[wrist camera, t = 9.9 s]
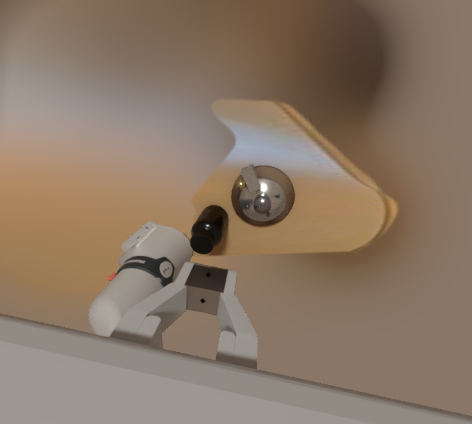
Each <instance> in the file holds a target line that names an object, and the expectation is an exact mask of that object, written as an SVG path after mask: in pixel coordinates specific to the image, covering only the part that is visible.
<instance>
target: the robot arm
mask: <svg viewBox="0 0 472 424" xmlns="http://www.w3.org/2000/svg"><path fill="white" fill-rule="evenodd" d="M121 249H122V251H123V254H122V255H121V256H120V257H119V259H118V262H119V265H120V268H119V270H118V272H117V274H116V273H113V274H112V275H110V276H109V277H108V279H107V280H109V281H110V283H109V284H108V285H107V286H106V287H105V288H104V289H103V290H102V292H101V293H100V294H99V295H98V296H97V297H96V298H95V299H94V300H93V302H92V304H91V306H90V308H89V312H88V313H89V314H88V318H89V323H90V326H91V328H92V330H93V332H94V333H95V334H92V333H88V332H83V331H78V330H74V329H69V328H65V327H60V326H55V325H50V324H45V323H42V322H37V321H33V320H28V319H23V318H19V317H14V316H9V315H5V314H0V424H472V416H469V415H465V414H460V413H455V412H450V411H446V410H442V409H437V408H432V407H428V406H423V405H418V404H414V403H409V402H405V401H400V400H396V399H391V398H386V397H382V396H377V395H373V394H368V393H363V392H359V391H354V390H350V389H345V388H340V387H336V386H331V385H327V384H322V383H317V382H313V381H308V380H303V379H299V378H294V377H290V376H285V375H281V374H276V373H271V372H267V371H262V370H257V335H256V333H255V331H254V330H253V327H252V326H251V323H250V321H249V320H248V317H247V315H246V314H245V312H244V310H243V308H242V306H241V304H240V302H239V300H238V298H237V296H235V295H234V292H235V285H236V278H237V271H234V270H228V269H223V268H217V267H212V266H207V265H203V264H198V263H193V262H189V261H190V259H191V257H192V254H193V249H192V248H191V246H190V241H189V240H188V238H187V237H186V236H185V235H184V234H182V233H181V232H180V231H178V230H176V229H174V228H171V227H167V226H162V225H159V224H157V223H155V222H152V221H148V222H147V223H145V224H144V225H143V226H142V227H141V228H140V229H138V230H137V231H136V232H135V233H134V234H133V235H131V236H130V237H129V238H128V239H127V240H126V241H125V242H123V243H122V245H121ZM186 309H188V310H193V311H199V312H204V313H208V314H212V315H216V316H217V318H218V322H219V325H220V329H221V332H222V333H221V335H220V340H219V346H218V350H217V355H216V360H212V359H207V358H202V357H198V356H193V355H189V354H184V353H180V352H175V351H170V350H166V349H163V346H162V332H163V331H164V330H166V328H168V327H169V326H170V325H171V324H172V323H173V322H174V321H175V320H176V319H177V318H178V317H180V316H181V315H182V314H183V313H184V312H185V311H186Z"/></svg>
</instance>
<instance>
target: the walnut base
mask: <svg viewBox="0 0 472 424" xmlns="http://www.w3.org/2000/svg"><path fill="white" fill-rule="evenodd" d="M254 168H255V170H256V173H257V175H258V177H259V178H261V177H266V178H270V179H273V180H275V181H276V182H278V183H279V184H280V185H281V186H282V188H283V190H284V192H285V196H286V205H285V208H284V210H283V211H282V213H281V214H280V215H279V216H277V217H276V218H274V219H272V220H269V221H256V220H253V219H251V218H249V217H248V216H246V215H245V214H244V212H243V211H242V209H241V207H240V203H239V198H240V194H241V191H242V189H244V187H245V185H246V183H245V181H244V179H243V177H242V175H240V176H239V177H238V179H237V180H236V182H235V184H234V186H233V189H232V195H231V199H232V204H233V207H234V209H235V211H236V212H237V214H238V215H239V216H240V217H241V218H243V219H244V220H246V221H247V222H250V223H252V224H256V225H269V224H273V223H276V222H278V221H280V220H281V219H283V218H284V217H285V216H286V215H287V214H288V213H289V212H290V210H291V209H292V206H293V204H294V199H295V193H294V188H293V185H292V183H291V181H290V179H289V178H288V176H287V175H286V174H285V173H283V172H282V171H281V170H279V169H277V168H274V167H271V166H256V167H254Z"/></svg>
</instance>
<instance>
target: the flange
mask: <svg viewBox="0 0 472 424" xmlns="http://www.w3.org/2000/svg"><path fill="white" fill-rule="evenodd" d="M241 175H242V177H243V179H244V181H245V183H246V185H245V187H244V189H242V191H241V194H240V198H239V203H240V207H241V209H242V211H243V212H244V214H245V215H246V216H248V217H249V218H251V219H253V220H256V221H269V220H272V219H274V218H276V217H277V216H279V215H280V214H281V213H282V211H283V210H284V208H285V205H286V196H285V192H284V190H283V188H282V186H281V185H280V184H279V183H278V182H276V181H275V180H273V179H270V178H266V177H261V178H259V177H258V175H257V173H256V170H255V168H254V166H253V164H251V165H249V166H247V167H245V168H243V169H242V170H241Z"/></svg>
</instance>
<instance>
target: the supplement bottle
mask: <svg viewBox="0 0 472 424" xmlns="http://www.w3.org/2000/svg"><path fill="white" fill-rule="evenodd" d="M227 222H228V215H227V213H226V211H225V210H224V209H223V208H222V207H220V206H217V205H211V206H208V207H206V208H205V209H204V210H203V212H202V213H201V215H200V216H199V218H198V219H197V221H196V222H195V224H194V225H193V227H192V230H191V235H192V238H191V239H190V246H191V248H192V249H193V250H194V251H195V252H197V253H199V254H208V253H210V252H211V251H212V249H213V247H214V246H216V245H218V244H219V243H220V241H221V239H222V236H223V234H224V231H225V228H226V225H227Z"/></svg>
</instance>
